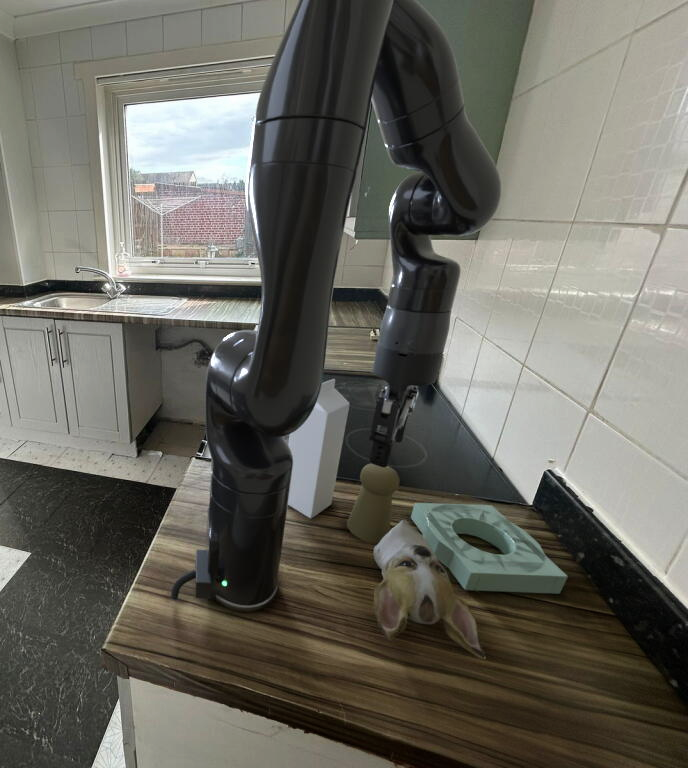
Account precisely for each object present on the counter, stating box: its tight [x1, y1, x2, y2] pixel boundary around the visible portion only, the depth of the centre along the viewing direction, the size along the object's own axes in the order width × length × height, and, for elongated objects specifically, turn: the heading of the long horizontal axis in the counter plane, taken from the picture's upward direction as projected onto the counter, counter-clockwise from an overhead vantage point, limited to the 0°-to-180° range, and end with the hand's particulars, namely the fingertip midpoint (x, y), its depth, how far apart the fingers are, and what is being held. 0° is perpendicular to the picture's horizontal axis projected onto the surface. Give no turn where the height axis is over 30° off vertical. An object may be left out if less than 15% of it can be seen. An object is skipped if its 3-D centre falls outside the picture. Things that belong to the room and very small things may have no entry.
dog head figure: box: [373, 519, 487, 661], centre depth 49 cm, size 11×9×15 cm
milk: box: [287, 378, 350, 520], centre depth 64 cm, size 6×6×22 cm
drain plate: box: [410, 502, 569, 595], centre depth 58 cm, size 14×14×3 cm
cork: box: [346, 462, 400, 544], centre depth 61 cm, size 6×6×11 cm
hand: (386, 451), depth 58 cm, fingers open, 8 cm apart
